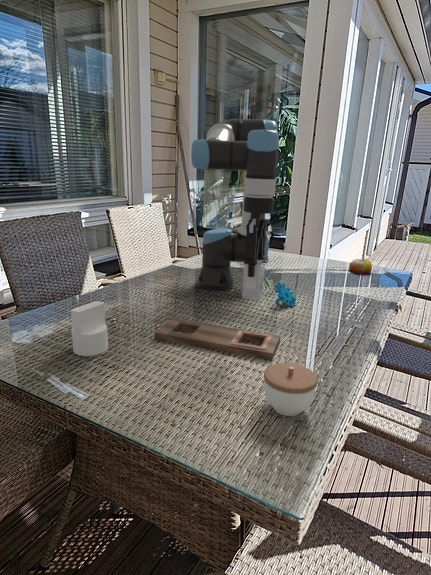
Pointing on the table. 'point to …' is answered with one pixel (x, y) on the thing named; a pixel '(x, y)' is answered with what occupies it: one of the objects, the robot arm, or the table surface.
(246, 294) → the steel block
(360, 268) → the fruit
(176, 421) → the table surface
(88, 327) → the cylinder with rectangular tab
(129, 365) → the table surface
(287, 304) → the gear
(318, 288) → the table surface
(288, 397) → the lidded jar
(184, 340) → the walnut rail
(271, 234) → the coffeepot
